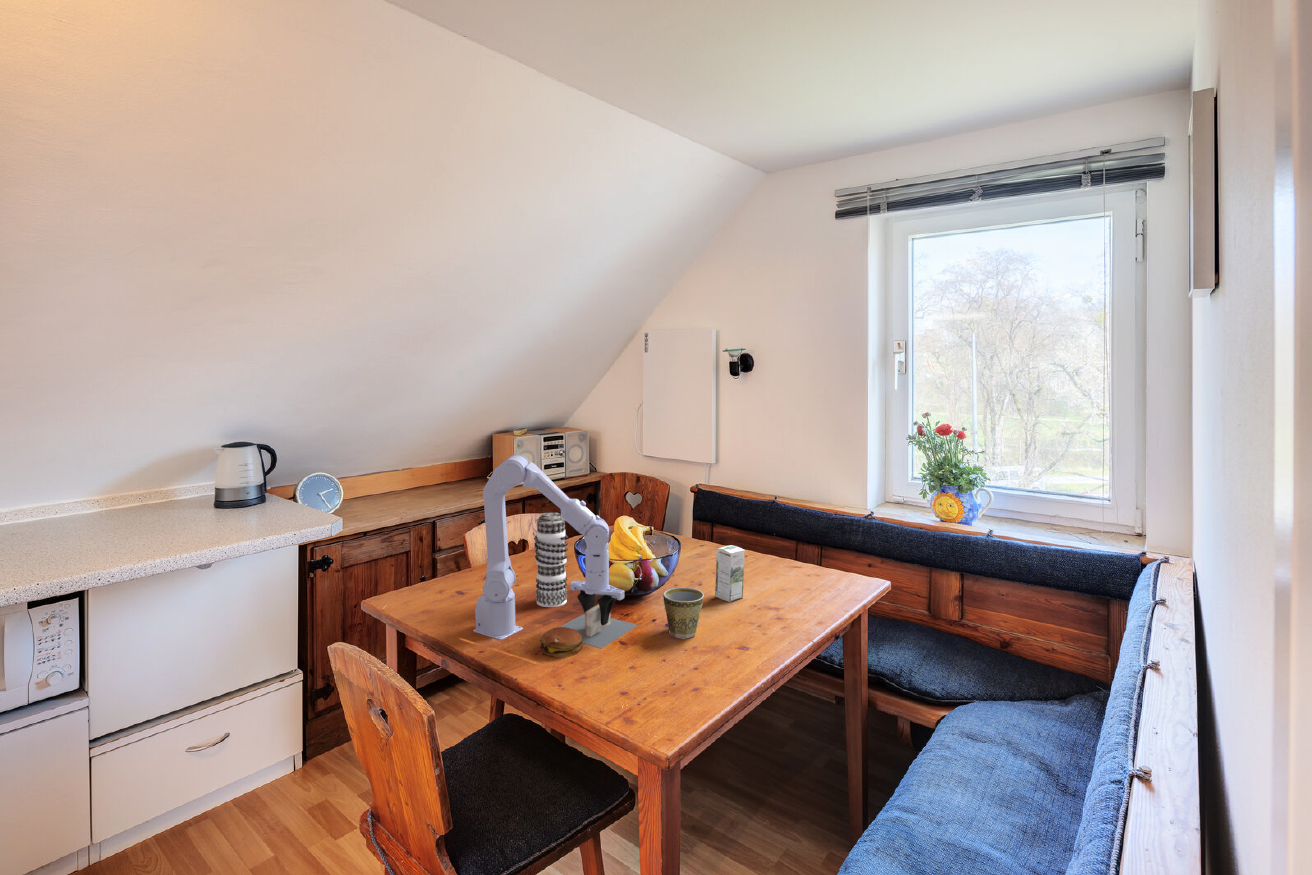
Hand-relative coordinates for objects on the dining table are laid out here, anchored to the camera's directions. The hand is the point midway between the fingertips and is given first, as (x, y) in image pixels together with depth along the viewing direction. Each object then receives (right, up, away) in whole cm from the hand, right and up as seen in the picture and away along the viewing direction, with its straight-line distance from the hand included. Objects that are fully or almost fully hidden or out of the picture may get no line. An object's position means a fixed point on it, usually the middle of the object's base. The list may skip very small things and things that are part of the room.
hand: (597, 622), depth 166 cm
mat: (-1, -2, +1) cm, 3 cm away
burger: (-7, -4, -10) cm, 13 cm away
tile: (0, -2, +1) cm, 2 cm away
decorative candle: (-14, 0, +19) cm, 24 cm away
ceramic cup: (+22, -3, +1) cm, 22 cm away
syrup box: (+35, 0, +24) cm, 43 cm away
